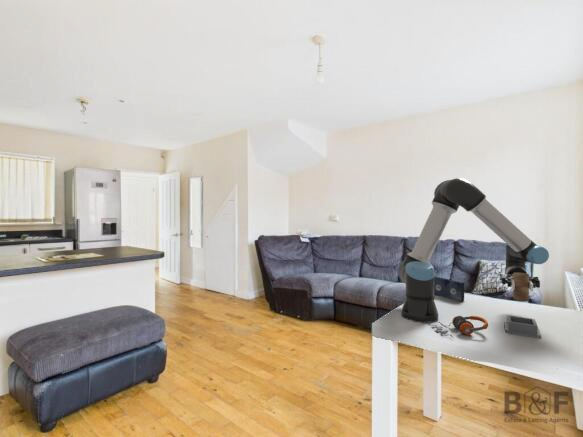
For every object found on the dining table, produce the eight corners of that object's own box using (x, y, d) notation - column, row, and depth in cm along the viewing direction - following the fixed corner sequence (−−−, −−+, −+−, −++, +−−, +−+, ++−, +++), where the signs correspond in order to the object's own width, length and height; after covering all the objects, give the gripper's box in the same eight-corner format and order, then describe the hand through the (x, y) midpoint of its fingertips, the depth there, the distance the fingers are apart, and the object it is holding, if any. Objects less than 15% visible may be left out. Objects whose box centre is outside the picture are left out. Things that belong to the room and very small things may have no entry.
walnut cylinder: (513, 299, 125) (513, 274, 125) (512, 296, 130) (512, 271, 129) (529, 301, 123) (529, 275, 123) (528, 298, 127) (528, 273, 127)
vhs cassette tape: (464, 301, 166) (464, 282, 165) (460, 302, 164) (461, 283, 164) (434, 293, 182) (434, 275, 182) (430, 294, 181) (430, 276, 181)
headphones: (424, 317, 134) (472, 307, 133) (427, 329, 135) (475, 319, 133) (440, 332, 118) (496, 321, 116) (443, 346, 118) (499, 335, 116)
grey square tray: (505, 332, 124) (505, 322, 124) (504, 323, 134) (504, 314, 134) (541, 338, 119) (541, 327, 118) (537, 328, 128) (537, 318, 128)
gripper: (542, 286, 137) (552, 299, 117) (492, 281, 146) (494, 293, 126) (543, 268, 137) (553, 279, 117) (492, 265, 146) (494, 274, 126)
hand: (522, 286), depth 122 cm, fingers closed on walnut cylinder, 5 cm apart
